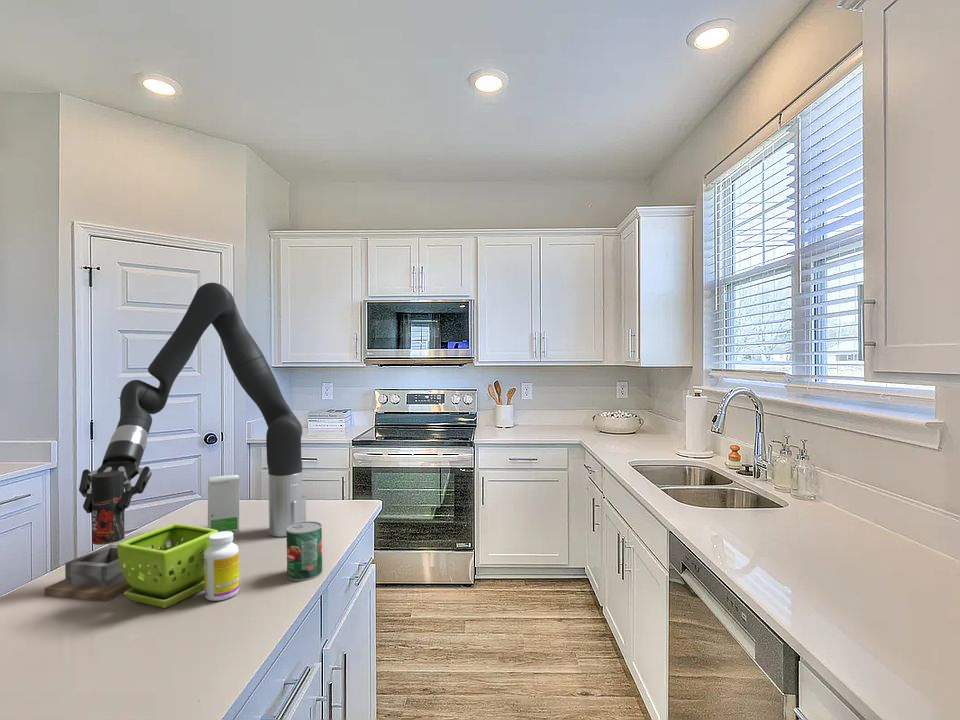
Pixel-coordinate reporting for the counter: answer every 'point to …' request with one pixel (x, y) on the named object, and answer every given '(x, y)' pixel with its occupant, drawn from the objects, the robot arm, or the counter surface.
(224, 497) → the skincare box
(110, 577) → the jig
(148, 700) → the counter surface
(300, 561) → the canned tomato
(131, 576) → the flower pot
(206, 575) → the supplement bottle
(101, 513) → the deodorant
